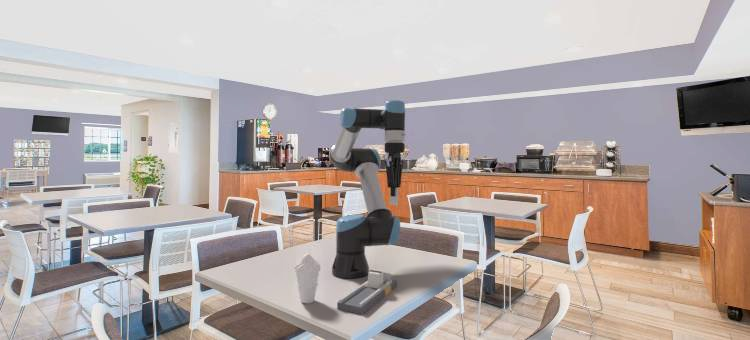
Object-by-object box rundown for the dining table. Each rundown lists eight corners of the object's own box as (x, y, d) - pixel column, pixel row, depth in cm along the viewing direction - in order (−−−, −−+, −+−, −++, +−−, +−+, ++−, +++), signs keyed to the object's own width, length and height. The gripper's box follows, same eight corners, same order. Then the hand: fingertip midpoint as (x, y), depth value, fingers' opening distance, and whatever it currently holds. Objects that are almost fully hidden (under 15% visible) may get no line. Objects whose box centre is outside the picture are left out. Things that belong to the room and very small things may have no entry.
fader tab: (367, 286, 126) (367, 271, 126) (372, 283, 130) (372, 268, 130) (378, 288, 124) (378, 273, 124) (383, 285, 128) (383, 270, 128)
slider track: (337, 308, 113) (337, 293, 112) (374, 282, 137) (374, 269, 137) (362, 314, 109) (363, 298, 109) (396, 286, 133) (397, 272, 133)
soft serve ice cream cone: (296, 296, 123) (296, 249, 122) (321, 295, 123) (321, 249, 123) (292, 306, 114) (292, 256, 114) (319, 305, 115) (319, 255, 114)
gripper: (397, 141, 129) (396, 207, 130) (410, 142, 141) (409, 203, 141) (378, 141, 132) (377, 206, 133) (392, 143, 144) (391, 202, 145)
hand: (394, 204), depth 137 cm, fingers closed
